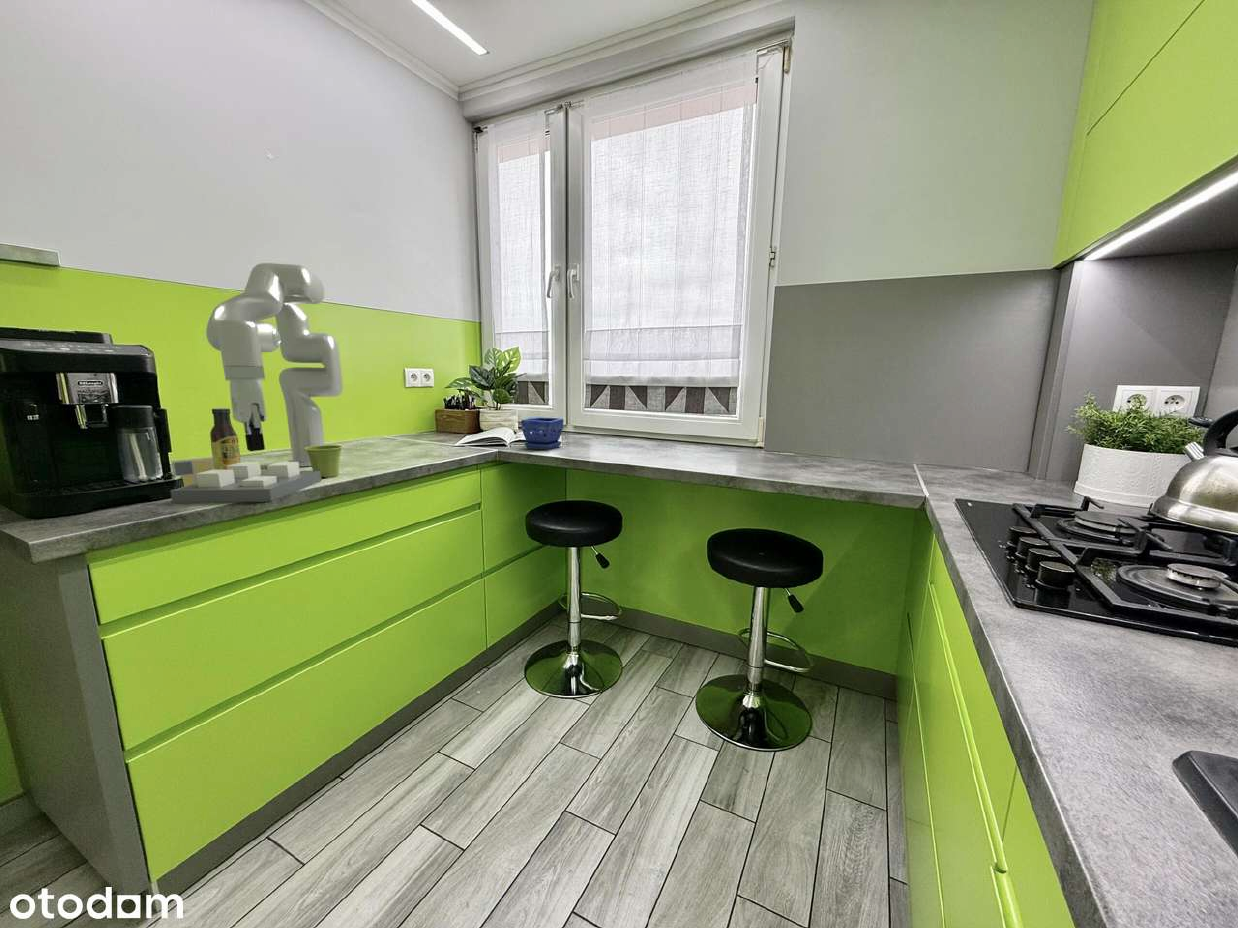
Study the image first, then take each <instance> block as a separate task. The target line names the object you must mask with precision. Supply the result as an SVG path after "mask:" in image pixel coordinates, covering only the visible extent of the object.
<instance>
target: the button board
mask: <svg viewBox="0 0 1238 928" xmlns="http://www.w3.org/2000/svg"><path fill="white" fill-rule="evenodd" d="M299 471H300V474H299V475H296V476H293V477H290V478H276V479H277V482H276V483H273V484H270V485H268V486H265V487H242V482H241V481H242V480H245V479H248V478H234V479H235V483H232V484H229V485H226V486H223V487H198V483H196V484H192V485H189V486H185V487H181V488H178V489H176V488H175V489H174V488H173V489H171V490H169V492H170V496H171V497H170V498H171V501H172V502H171V503H172V504H201V503H202V504H204V503H205V504H206V503H207V504H208V503H209V502H216V503H265V502H267V503H270V502H274V501H276V500H279V499H281V498H283V497H286V496H289V495H292V494H294V493H296V492H298V491H301V490H303V488H304V489H306V488H308V487H310V486H309V485H311V486H313V485H315V484H314V483H316V484H318V483H320V482H319V481H321V482H322V478H321V474H320V471H313V470H299ZM258 476H268V470H265V471H264V470H263V471H262V470H261V475H258ZM317 482H318V483H317ZM312 484H313V485H312ZM307 486H308V487H307ZM305 487H306V488H305Z"/></svg>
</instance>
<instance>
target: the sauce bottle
mask: <svg viewBox="0 0 1238 928" xmlns="http://www.w3.org/2000/svg"><path fill="white" fill-rule="evenodd" d="M211 414H212V415H213V424H214V425H213V426H212V428H211V430H210V433H209V434H210V436H209V437H210V447H211V454H212V455H211V457H212V458H213V464H214V470H227V466H228V465H232V464H236V463H240V462H242V461H241V454H240V445H239V436H238V434H237V433H236V430H235V429H234V426H233V424H232V420H231V409H230V408H227V407H226V408H225V407H224V408H223V407H221V408H211Z"/></svg>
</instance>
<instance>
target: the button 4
mask: <svg viewBox="0 0 1238 928" xmlns="http://www.w3.org/2000/svg"><path fill="white" fill-rule="evenodd" d="M266 469H267V471H268V476H276V478H290V477H293V476H296V475H299V474H300V471H301V470H300V467H299V463H298V462H288V461H279V462H275V463H271V464H269V465H267V468H266Z"/></svg>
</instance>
